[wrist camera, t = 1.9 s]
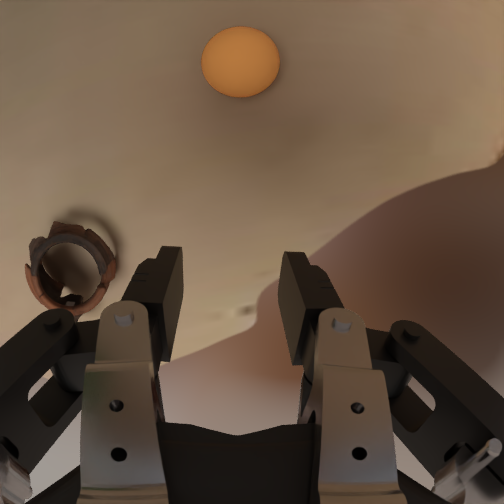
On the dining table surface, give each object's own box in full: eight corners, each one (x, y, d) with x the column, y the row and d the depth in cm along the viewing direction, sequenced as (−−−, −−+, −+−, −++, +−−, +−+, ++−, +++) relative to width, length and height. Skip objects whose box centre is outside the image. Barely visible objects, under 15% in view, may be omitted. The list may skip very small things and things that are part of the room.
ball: (202, 97, 22) (194, 94, 17) (207, 35, 19) (201, 15, 14) (271, 101, 22) (282, 99, 17) (276, 39, 20) (288, 21, 15)
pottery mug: (29, 217, 25) (13, 227, 18) (110, 213, 30) (119, 221, 23) (41, 323, 28) (35, 360, 21) (115, 316, 33) (128, 350, 26)
